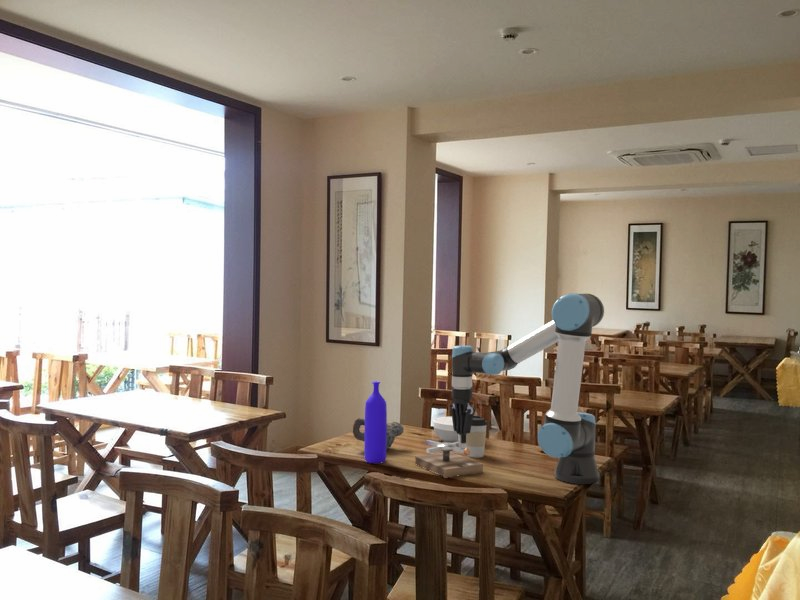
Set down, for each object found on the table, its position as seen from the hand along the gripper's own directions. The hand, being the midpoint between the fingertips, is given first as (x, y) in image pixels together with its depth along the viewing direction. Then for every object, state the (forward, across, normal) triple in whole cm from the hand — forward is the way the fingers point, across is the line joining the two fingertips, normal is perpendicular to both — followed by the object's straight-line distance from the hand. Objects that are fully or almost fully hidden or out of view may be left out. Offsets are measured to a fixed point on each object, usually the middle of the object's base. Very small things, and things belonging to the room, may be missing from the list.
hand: (461, 451), depth 250 cm
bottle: (+5, +21, +25) cm, 33 cm away
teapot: (+5, +37, +15) cm, 40 cm away
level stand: (+6, 0, +6) cm, 8 cm away
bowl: (+5, +35, -21) cm, 41 cm away
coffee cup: (+6, +11, -14) cm, 19 cm away
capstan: (-1, -1, +7) cm, 7 cm away
